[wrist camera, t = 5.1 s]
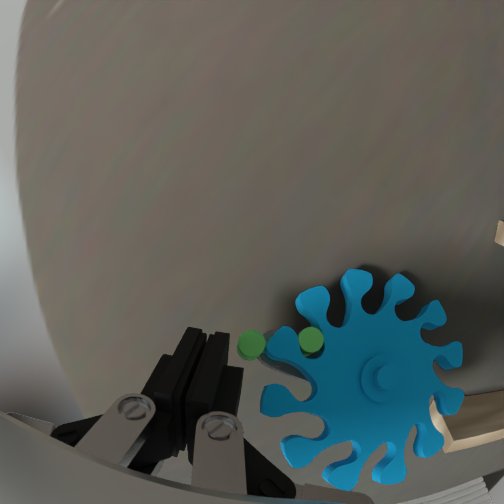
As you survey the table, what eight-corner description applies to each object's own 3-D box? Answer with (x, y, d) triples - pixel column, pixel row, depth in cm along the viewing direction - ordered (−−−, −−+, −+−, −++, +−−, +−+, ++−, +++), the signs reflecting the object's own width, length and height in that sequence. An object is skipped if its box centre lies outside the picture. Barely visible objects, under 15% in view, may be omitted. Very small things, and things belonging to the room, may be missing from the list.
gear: (484, 306, 12) (437, 504, 8) (424, 335, 17) (379, 483, 13) (291, 218, 13) (188, 443, 9) (272, 272, 19) (200, 428, 14)
